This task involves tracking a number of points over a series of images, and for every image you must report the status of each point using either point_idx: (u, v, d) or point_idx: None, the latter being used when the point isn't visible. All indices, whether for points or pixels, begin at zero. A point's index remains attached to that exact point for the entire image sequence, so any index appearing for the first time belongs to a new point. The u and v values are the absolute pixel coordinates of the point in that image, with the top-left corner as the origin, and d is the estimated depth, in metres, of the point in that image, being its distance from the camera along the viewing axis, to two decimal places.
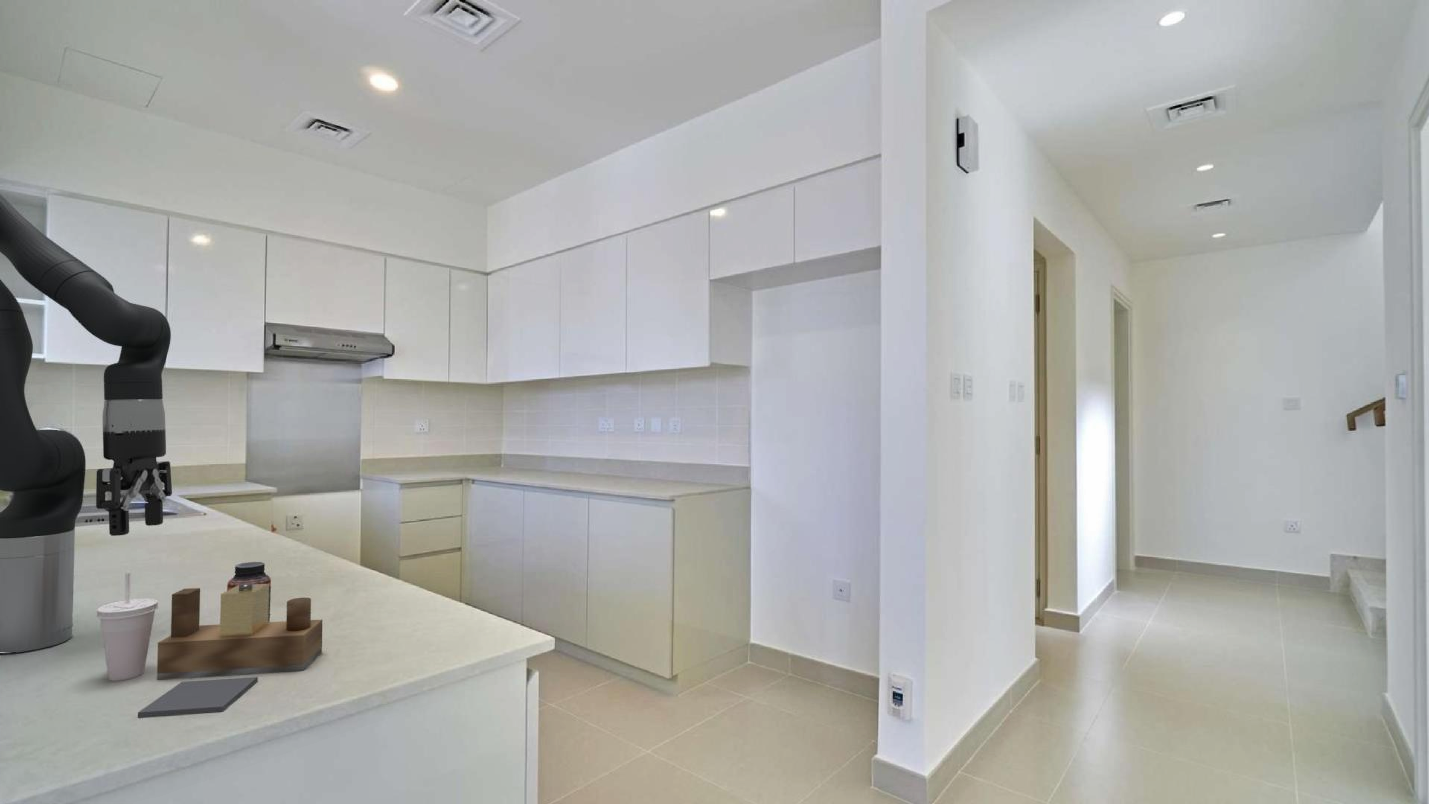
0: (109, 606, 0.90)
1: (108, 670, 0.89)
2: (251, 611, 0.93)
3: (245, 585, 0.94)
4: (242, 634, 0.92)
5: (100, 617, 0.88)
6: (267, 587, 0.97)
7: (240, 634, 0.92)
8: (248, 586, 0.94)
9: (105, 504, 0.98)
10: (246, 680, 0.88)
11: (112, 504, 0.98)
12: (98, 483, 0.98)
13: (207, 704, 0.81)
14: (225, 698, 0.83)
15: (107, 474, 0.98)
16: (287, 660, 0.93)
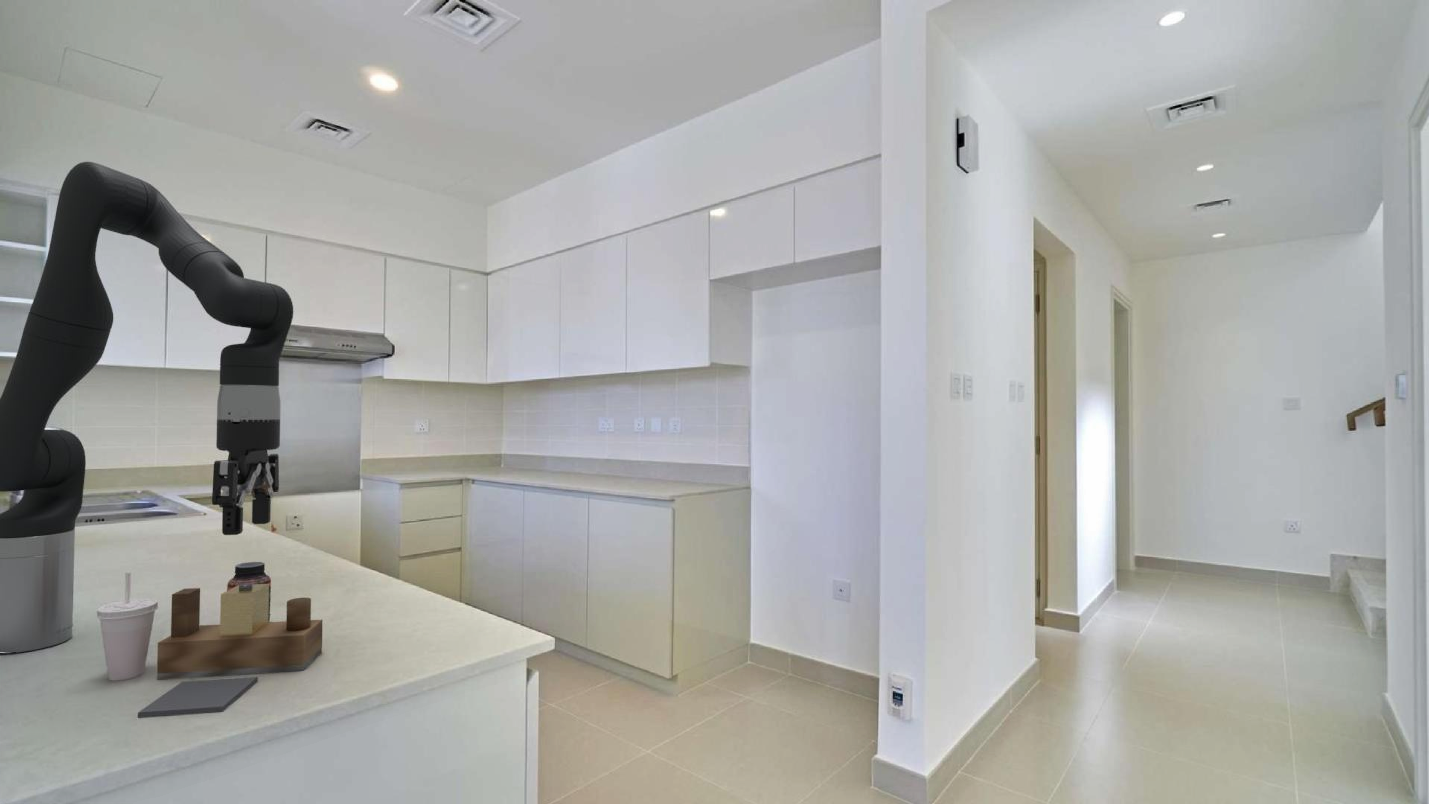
0: (109, 606, 0.90)
1: (108, 670, 0.89)
2: (251, 611, 0.93)
3: (245, 585, 0.94)
4: (242, 634, 0.92)
5: (100, 617, 0.88)
6: (267, 587, 0.97)
7: (240, 634, 0.92)
8: (248, 586, 0.94)
9: (222, 500, 0.88)
10: (246, 680, 0.88)
11: (229, 500, 0.88)
12: (215, 476, 0.88)
13: (207, 704, 0.81)
14: (225, 698, 0.83)
15: (225, 467, 0.88)
16: (287, 660, 0.93)
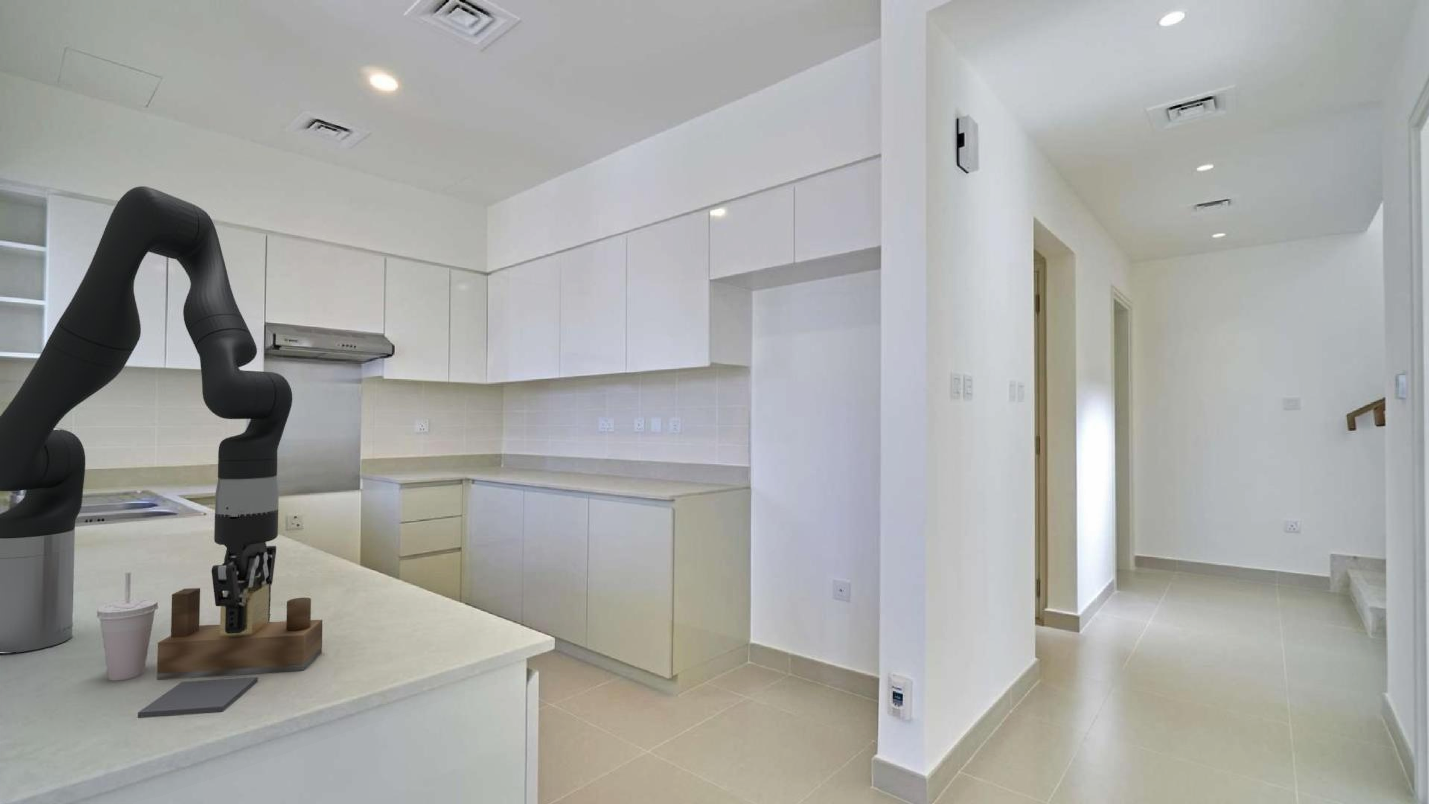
0: (109, 606, 0.90)
1: (108, 670, 0.89)
2: (251, 611, 0.93)
3: None
4: (242, 634, 0.92)
5: (100, 617, 0.88)
6: (267, 587, 0.97)
7: (240, 634, 0.92)
8: None
9: (225, 601, 0.89)
10: (246, 680, 0.88)
11: (232, 602, 0.89)
12: (215, 582, 0.88)
13: (207, 704, 0.81)
14: (225, 698, 0.83)
15: (223, 573, 0.88)
16: (287, 660, 0.93)
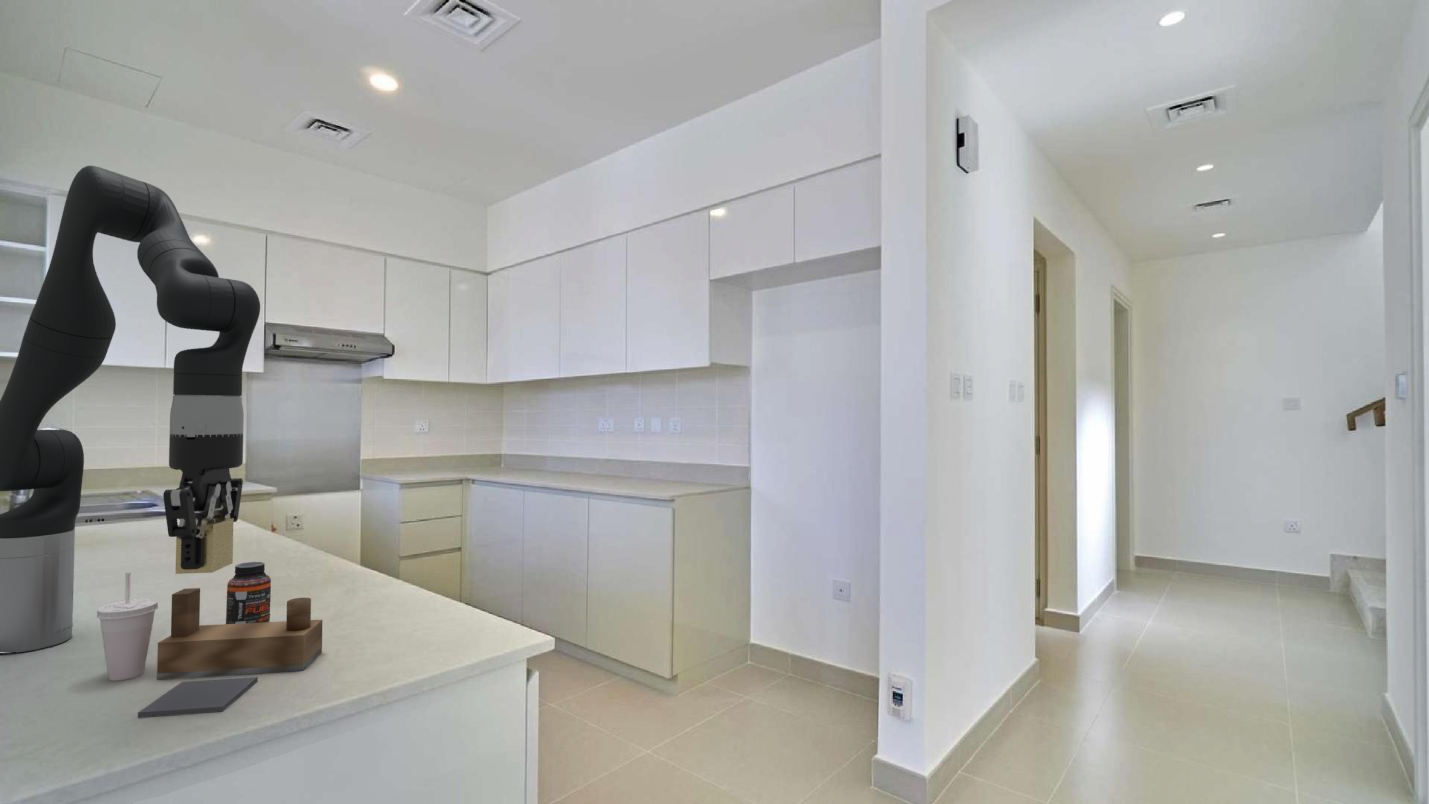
0: (109, 606, 0.90)
1: (108, 670, 0.89)
2: (211, 545, 0.82)
3: None
4: (201, 571, 0.82)
5: (100, 617, 0.88)
6: (231, 521, 0.87)
7: (199, 571, 0.82)
8: None
9: (179, 531, 0.79)
10: (246, 680, 0.88)
11: (188, 532, 0.79)
12: (167, 508, 0.78)
13: (207, 704, 0.81)
14: (225, 698, 0.83)
15: (177, 498, 0.78)
16: (287, 660, 0.93)
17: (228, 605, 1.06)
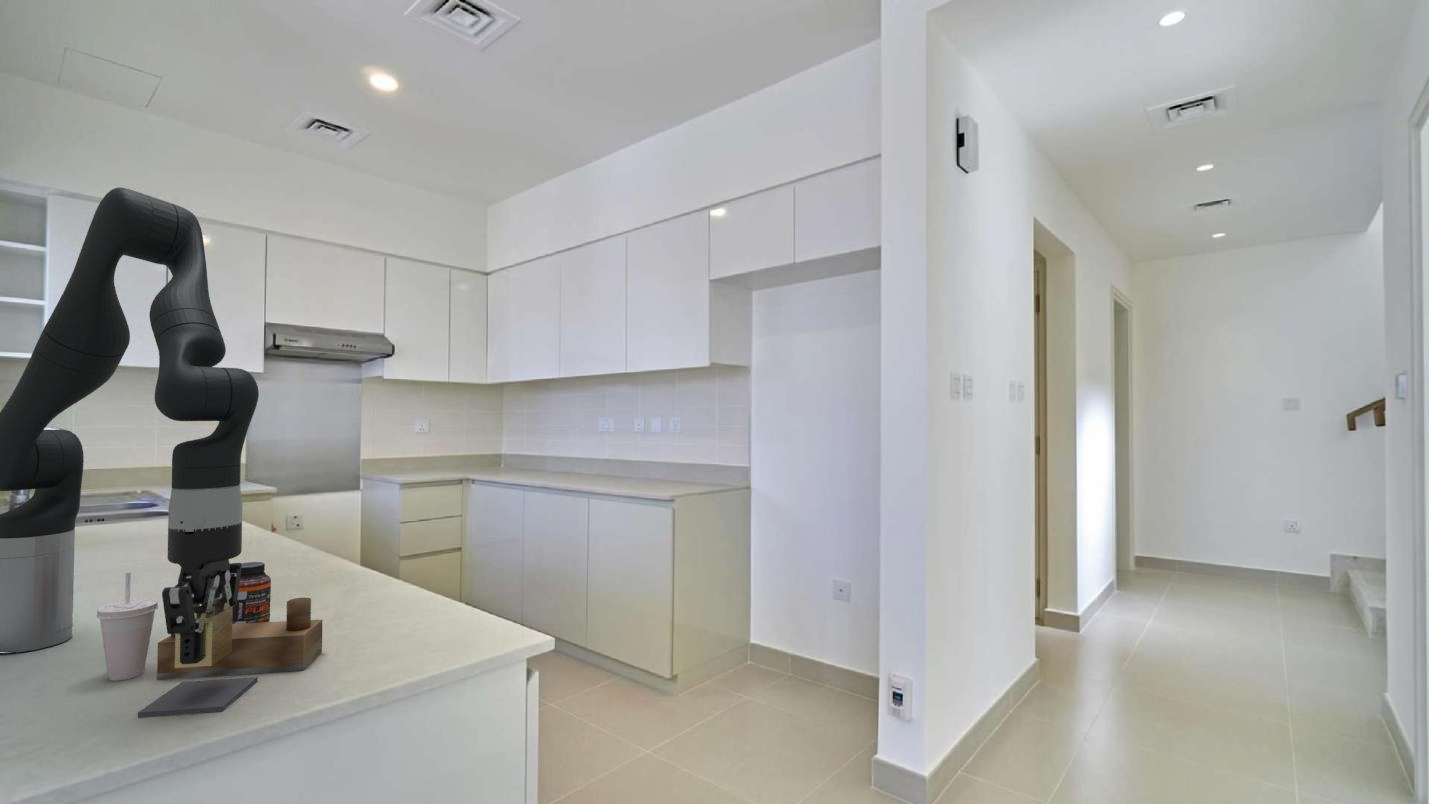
0: (109, 606, 0.90)
1: (108, 670, 0.89)
2: (210, 638, 0.82)
3: None
4: (200, 664, 0.82)
5: (100, 617, 0.88)
6: (230, 610, 0.87)
7: (198, 664, 0.82)
8: None
9: (178, 628, 0.79)
10: (246, 680, 0.88)
11: (187, 629, 0.79)
12: (166, 607, 0.78)
13: (207, 704, 0.81)
14: (225, 698, 0.83)
15: (175, 596, 0.78)
16: (287, 660, 0.93)
17: None
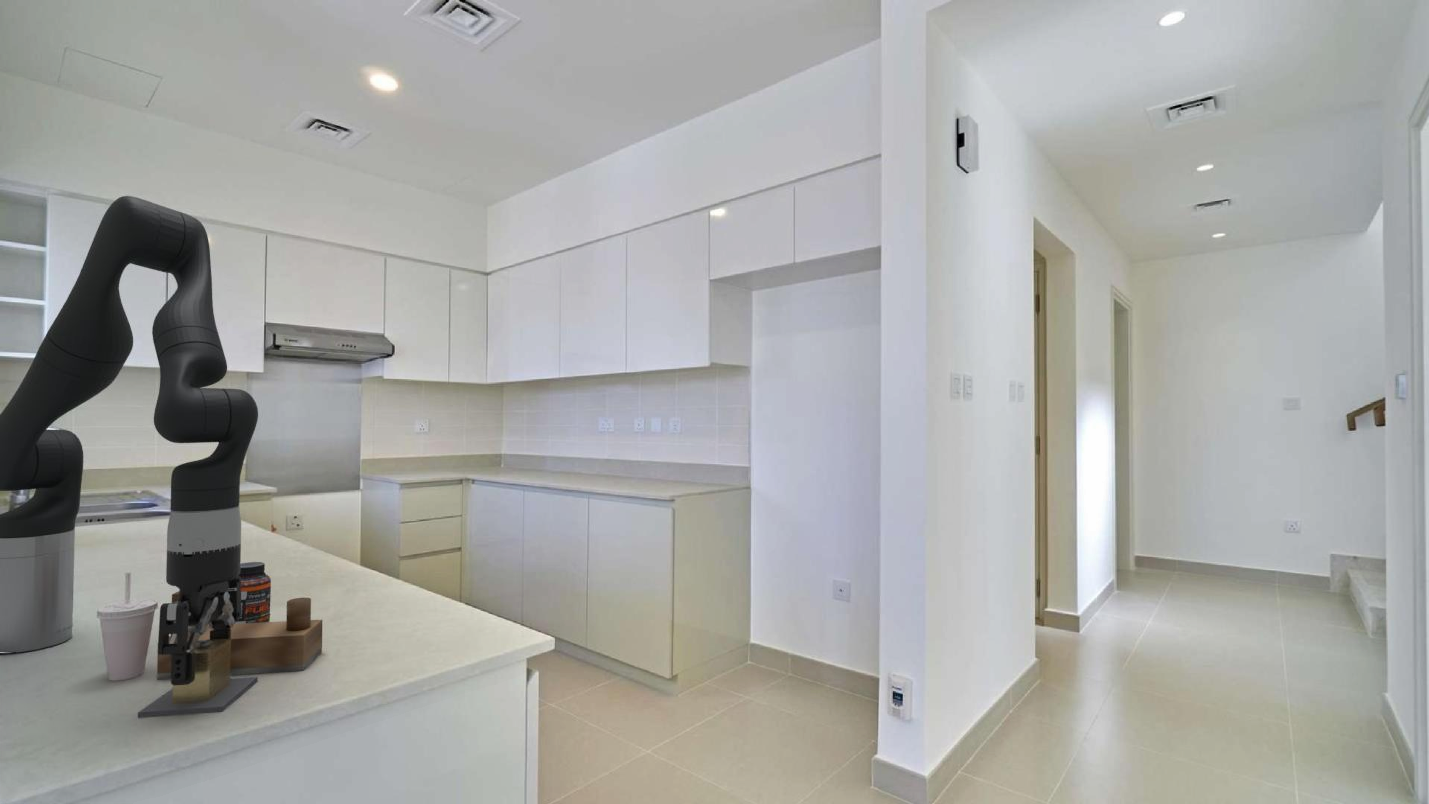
0: (109, 606, 0.90)
1: (108, 670, 0.89)
2: (208, 673, 0.82)
3: (202, 642, 0.84)
4: (198, 699, 0.82)
5: (100, 617, 0.88)
6: (228, 643, 0.86)
7: (195, 699, 0.82)
8: (206, 643, 0.84)
9: (169, 649, 0.77)
10: (246, 680, 0.88)
11: (178, 650, 0.77)
12: (161, 623, 0.77)
13: (207, 704, 0.81)
14: (225, 698, 0.83)
15: (173, 611, 0.77)
16: (287, 660, 0.93)
17: None
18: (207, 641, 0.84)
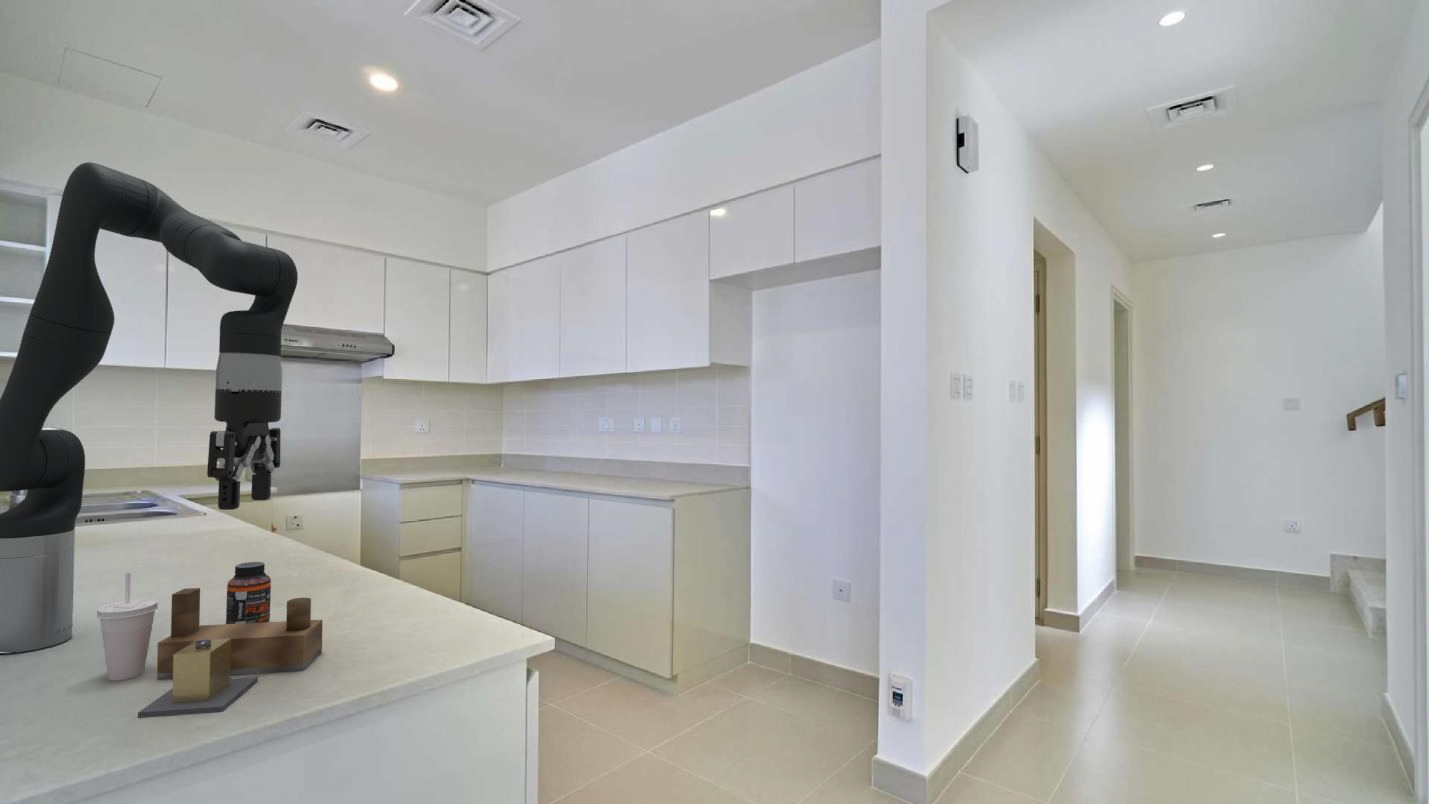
0: (109, 606, 0.90)
1: (108, 670, 0.89)
2: (208, 673, 0.82)
3: (202, 642, 0.84)
4: (198, 699, 0.82)
5: (100, 617, 0.88)
6: (228, 643, 0.86)
7: (195, 699, 0.82)
8: (206, 643, 0.84)
9: (217, 472, 0.84)
10: (246, 680, 0.88)
11: (225, 473, 0.84)
12: (211, 447, 0.84)
13: (207, 704, 0.81)
14: (225, 698, 0.83)
15: (221, 438, 0.84)
16: (287, 660, 0.93)
17: (228, 605, 1.06)
18: (207, 641, 0.84)
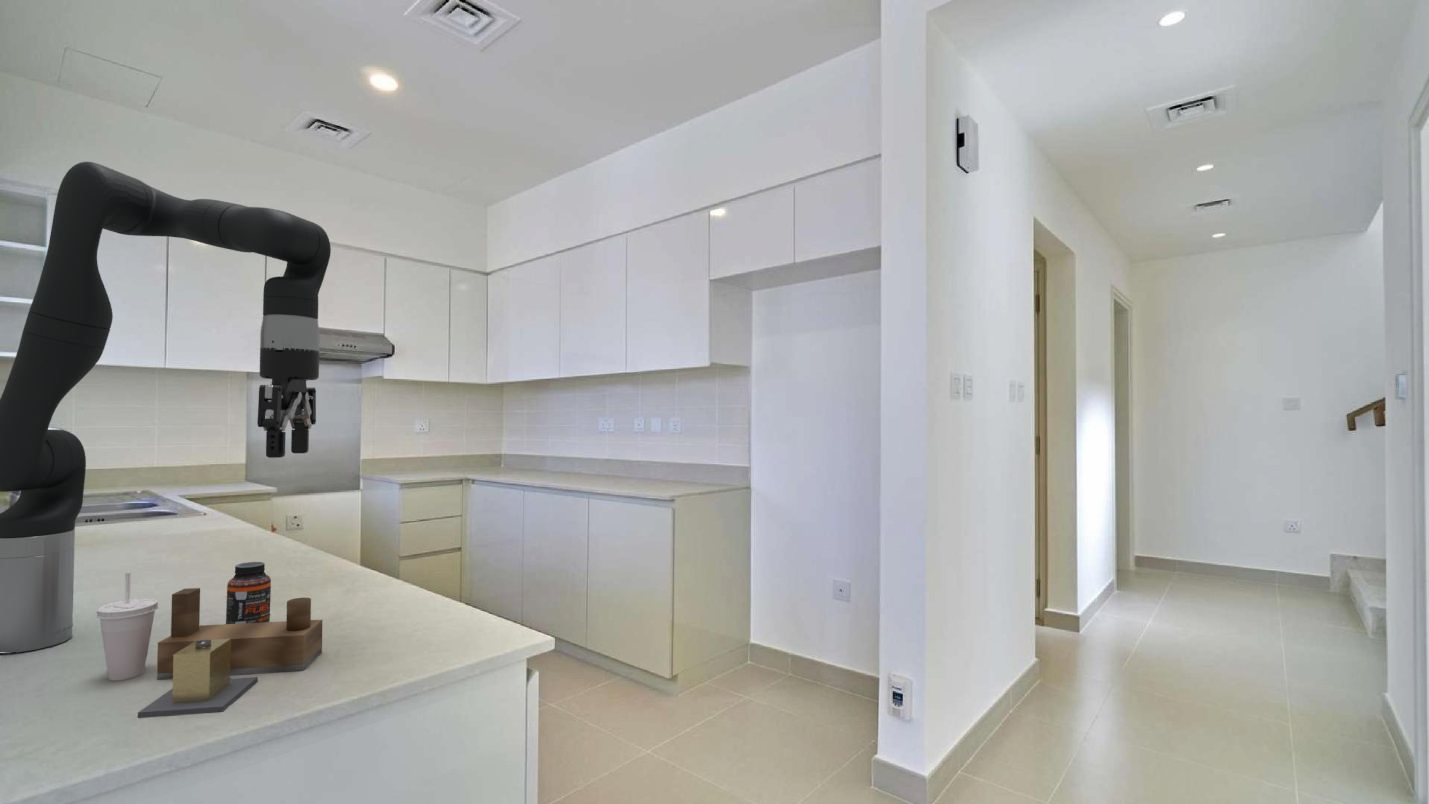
0: (109, 606, 0.90)
1: (108, 670, 0.89)
2: (208, 673, 0.82)
3: (202, 642, 0.84)
4: (198, 699, 0.82)
5: (100, 617, 0.88)
6: (228, 643, 0.86)
7: (195, 699, 0.82)
8: (206, 643, 0.84)
9: (267, 422, 0.92)
10: (246, 680, 0.88)
11: (274, 422, 0.92)
12: (260, 399, 0.92)
13: (207, 704, 0.81)
14: (225, 698, 0.83)
15: (270, 390, 0.92)
16: (287, 660, 0.93)
17: (228, 605, 1.06)
18: (207, 641, 0.84)
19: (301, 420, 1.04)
